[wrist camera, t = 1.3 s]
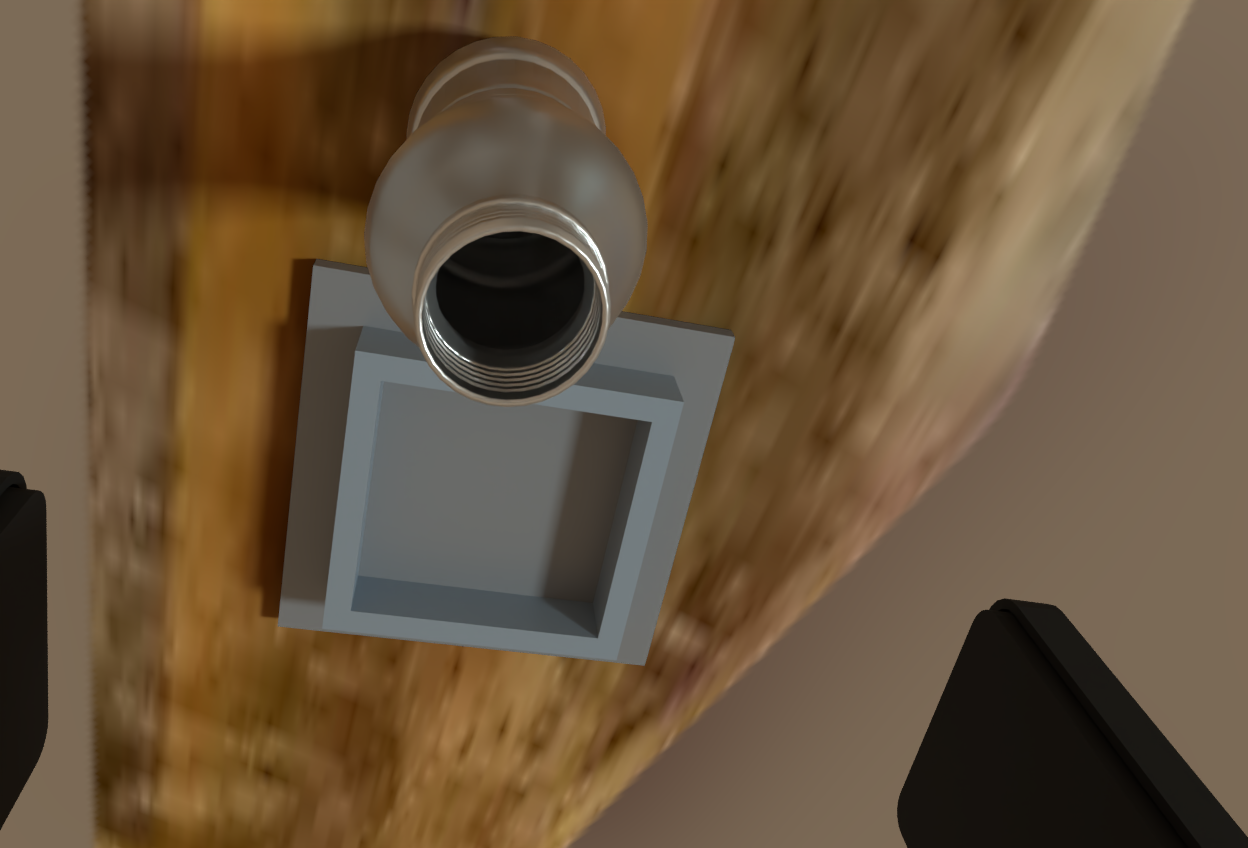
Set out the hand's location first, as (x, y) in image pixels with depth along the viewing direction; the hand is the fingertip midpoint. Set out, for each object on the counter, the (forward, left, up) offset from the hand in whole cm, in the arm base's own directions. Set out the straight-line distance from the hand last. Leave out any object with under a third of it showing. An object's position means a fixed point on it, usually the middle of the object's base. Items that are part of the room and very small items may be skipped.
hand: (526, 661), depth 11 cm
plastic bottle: (0, 0, -30) cm, 30 cm away
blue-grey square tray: (+14, +2, -30) cm, 33 cm away
